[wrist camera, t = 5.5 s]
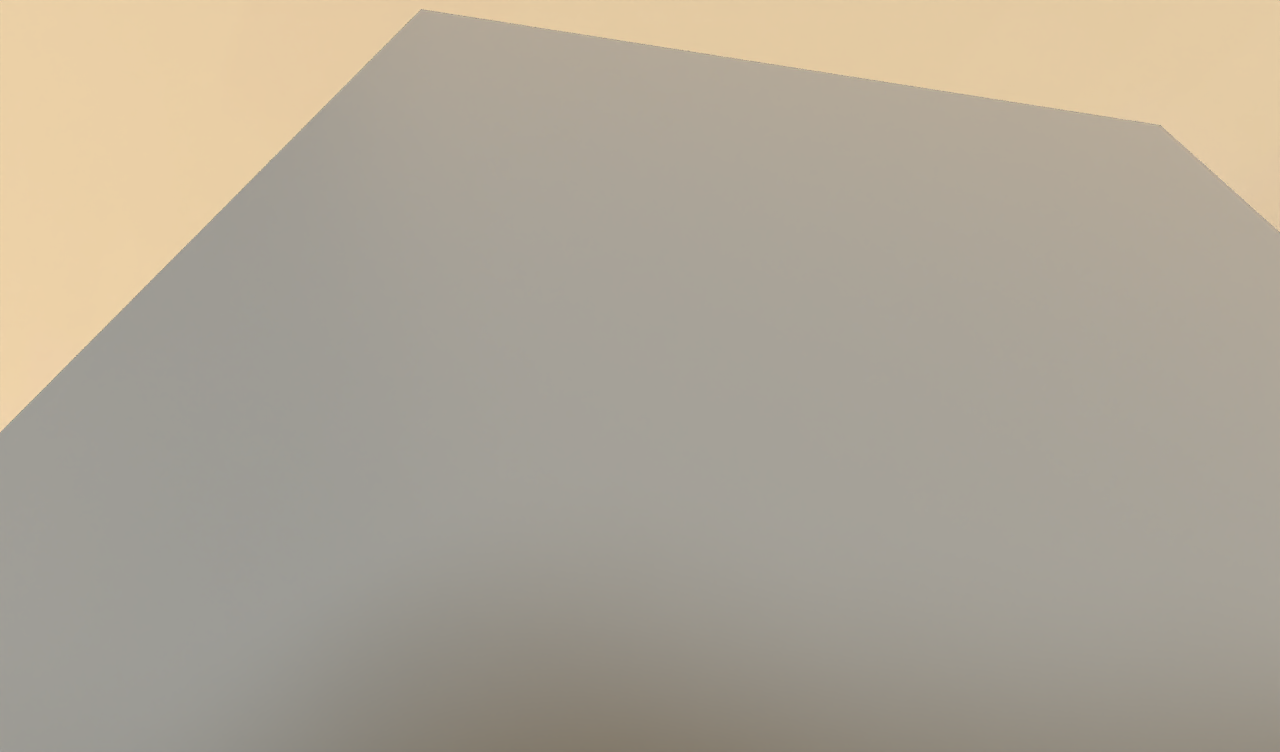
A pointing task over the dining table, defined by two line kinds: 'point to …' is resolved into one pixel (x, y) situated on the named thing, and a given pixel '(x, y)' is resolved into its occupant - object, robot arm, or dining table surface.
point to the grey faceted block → (666, 431)
